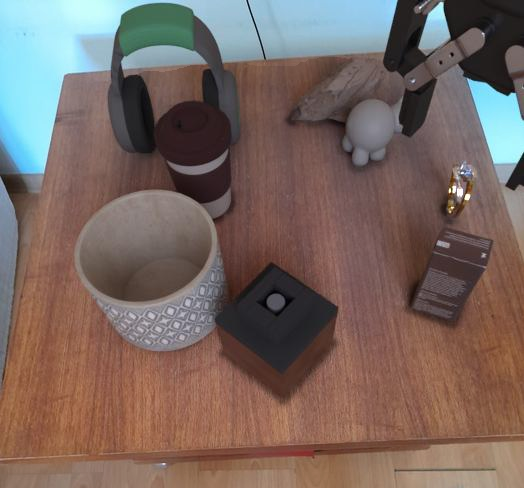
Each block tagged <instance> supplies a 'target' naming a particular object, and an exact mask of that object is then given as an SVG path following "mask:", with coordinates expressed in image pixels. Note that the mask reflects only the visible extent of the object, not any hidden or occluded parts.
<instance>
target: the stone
mask: <svg viewBox="0 0 524 488" xmlns="http://www.w3.org/2000/svg"><path fill="white" fill-rule="evenodd" d="M387 75H388V73H387V72H386V71H385V70H383V69H382V68H381V67H380V66H379V64H378V62H377V61H375V60H373V61H370V60H369V59H368V58H366V57H359V56H354V57H350V58H348V59H347V60H345V61H343V62H340V63H339V64H337V65H335V66H334V67H332V68H331V69H330V71H329V72H328V73H327V74H326V75H324V76H323V78H321V80H320V81H318V82H317V83H316V84H315V85H314V86H312V87H311V88H310V89H309V90H308V91H306V92H305V93H304V94H303V95H302V96H301V97H300V98H299V99H298V100H297V102H296V103H295V104H294V105H293V107H292V108H291V110H290V113H289V115H288V118H289V120H290V121H291V122H293V121H294V120H297V121H313V122H315V121H322V120H326V119H331V120H334V121H337V122H342V123H345V124H346V122H347V118H348V116H349V114H350V112H351V111H352V109H353V108H354V107H355V106H356V105H357V104H359V103H360V102H362V101H365V100H368V99H378V93H377V91H378V89H379V87H380V85H381V83H382V82H383V80H384V79H385V78H386V77H387Z"/></svg>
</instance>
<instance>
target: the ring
mask: <svg viewBox="0 0 524 488" xmlns="http://www.w3.org/2000/svg"><path fill="white" fill-rule="evenodd" d="M477 178H478V171H477V169H476V168H475V166H473V165H472V164H470V163H467V160H466V159H464V160H463V161H462V162H461V164H460V165H458V164H453V165H452V169H451V175H450V180H449V185H448V192H447V199H446V200H447V201H446V206H445V212H446V216H447V218H452V219H453V218H454V219H456V218H458V216H459V215H461V213H462V212H463V211H464V209H465V207H466V206H467V203H468V202H469V199H470V197H471V194H472V192H473V188H474V184H475V181H476V180H477ZM462 182H463V183H466V186H465V190H464V193H463V184H462ZM456 192H457V194H456V198H455V193H456ZM463 194H464V195H463ZM462 196H463V198H462ZM455 199H456V200H455ZM454 200H455V203H454Z"/></svg>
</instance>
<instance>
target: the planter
mask: <svg viewBox="0 0 524 488" xmlns="http://www.w3.org/2000/svg"><path fill="white" fill-rule="evenodd" d="M73 258H74V267H75V270H76V273H77V276H78V278H79V279H80V281H81V282H82V284H83V286H84V288H85V289H86V290H87V291H88V293H89V294H90V295H91V298H92V299H93V300H94V302H95V303H96V304H97V306H98V307H99V308H100V310H101V311H102V313H103V314H104V316H105V317H106V318H107V320H108V321H109V323H110V324H111V326H112V327H113V329H114V330H115V331H116V332H117V334H118V335H119V336H120V337H121V338H122V339H123V340H125V341H126V342H128V343H129V344H130V345H133V346H135V347H137V348H139V349H142V350H145V351H146V350H147V351H151V352H152V351H153V352H170V351H176V350H180V349H185V348H187V347H190V346H192V345H194V344H196V343H198V342H200V341H201V340H203V339H204V338H206V336H208V335H209V334H210V333H211V332H213V330H214V329H215V328H217V326H216V322H215V317H216V316H217V315H218V314H219V313H220V312H221V311H222V310H223V309H224V308H225V307H226V306H227V305H228V302H229V284H228V279H227V274H226V270H225V266H224V261H223V255H222V250H221V246H220V241H219V237H218V232H217V229H216V224H215V222H214V220H213V219H212V218H211V216H210V215H209V213H208V212H207V211H206V210H205V208H204V207H202V206H201V205H200V204H199V203H198V202H196V201H195V200H193V199H192V198H190V197H188V196H185V195H183V194H181V193H178V192H177V191H173V190H168V189H145V190H144V189H143V190H138V191H135V192H130V193H127V194H124V195H121V196H119V197H117V198H115V199H113V200H111V201H109V202H108V203H106V204H105V205H103V206H102V207H100V208H99V209H98V210H96V212H94V213H93V214H92V216H91V217H90V218H89V219H88V220H87V221H86V223H85V224H84V226H83V227H82V228H81V230H80V232H79V235H78V237H77V239H76V243H75V246H74V257H73Z"/></svg>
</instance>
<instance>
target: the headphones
mask: <svg viewBox="0 0 524 488" xmlns="http://www.w3.org/2000/svg"><path fill="white" fill-rule="evenodd" d="M157 46H158V47H159V46H170V47H177V48H178V47H179V48H182V49H185V50H189V51H191V52H196V53H197V54H198V55H199V56H200V57H201V58H202V59H203V60H204V61H205V63H206V64H207V66H208V67H209V68H205V69H203V71H202V75H201V90H202V91H201V93H202V102H204V103H206V104H209V105H212V106H215V107H217V108H219V109H220V110H221V111H223V112H224V113H225V114H226V116H227V117H228V119H229V121H230V124H231V132H232V139H231V143H230V145H229V146H233V145H236V144H237V143H238V142H239V141H240V139H241V133H242V131H241V130H242V127H241V113H240V111H241V110H240V102H239V101H240V100H239V91H238V82H237V79H236V76H235V75H234V72H232V71H231V70H228V69H225V68H224V64H223V58H222V54H221V51H220V48H219V44H218V43H217V40H216V38H215V36H214V34H213V32H212V31H211V29H210V28H209V27H208V26H207V25H206V23H205V22H204V21H203V20H202V19H201V18H199V17H198V16H197V15H195V13H194V10H193V9H192V8H190V7H188V6H185V5H182V4H178V3H173V2H151V3H145V4H141V5H137V6H134V7H132V8H130V9H128V10H126V11H124V12H123V13H122V14H121V15H120V21H119V25H118V27H117V29H116V31H115V35H114V39H113V46H112V53H111V63H110V81H111V83H110V84H109V86H108V90H107V109H108V115H109V116H108V117H109V122H110V126H111V130H112V132H113V136H114V137H115V140H116V142H117V144H118V145H119V146H120V148H121V149H122V150H124V151H125V152H126V153H131V154H133V153H134V154H135V153H139V154H142V155H146V154H152V153H153V152H154V150H155V146H156V143H155V140H154V129H155V126H156V123H155V117H154V110H153V103H152V100H151V96H150V91H149V89H148V86H147V84H146V82H145V79H144V78H143V76H142V75H139V74H129V75H127V76H125V74H124V70H123V65H122V61H123V59H125V57H126V58H127V57H129V56H130V55H131V54H133V53H135V52H137V51H139V50H142V49H145V48H146V49H147V48H150V47H157Z"/></svg>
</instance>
